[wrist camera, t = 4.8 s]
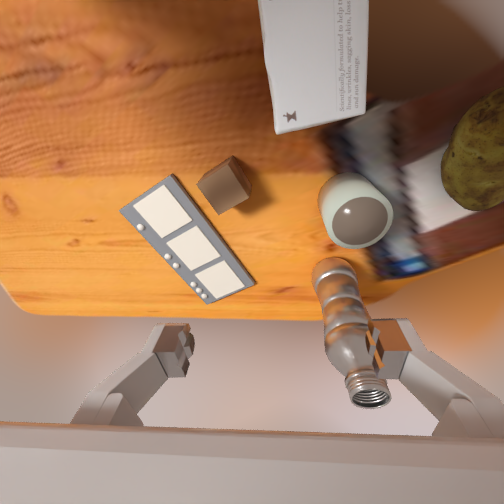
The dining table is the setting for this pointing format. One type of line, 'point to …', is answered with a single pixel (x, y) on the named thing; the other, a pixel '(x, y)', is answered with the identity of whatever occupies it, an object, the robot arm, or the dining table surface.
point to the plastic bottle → (348, 332)
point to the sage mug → (354, 211)
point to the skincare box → (315, 60)
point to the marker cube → (225, 185)
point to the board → (187, 240)
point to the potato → (477, 155)
